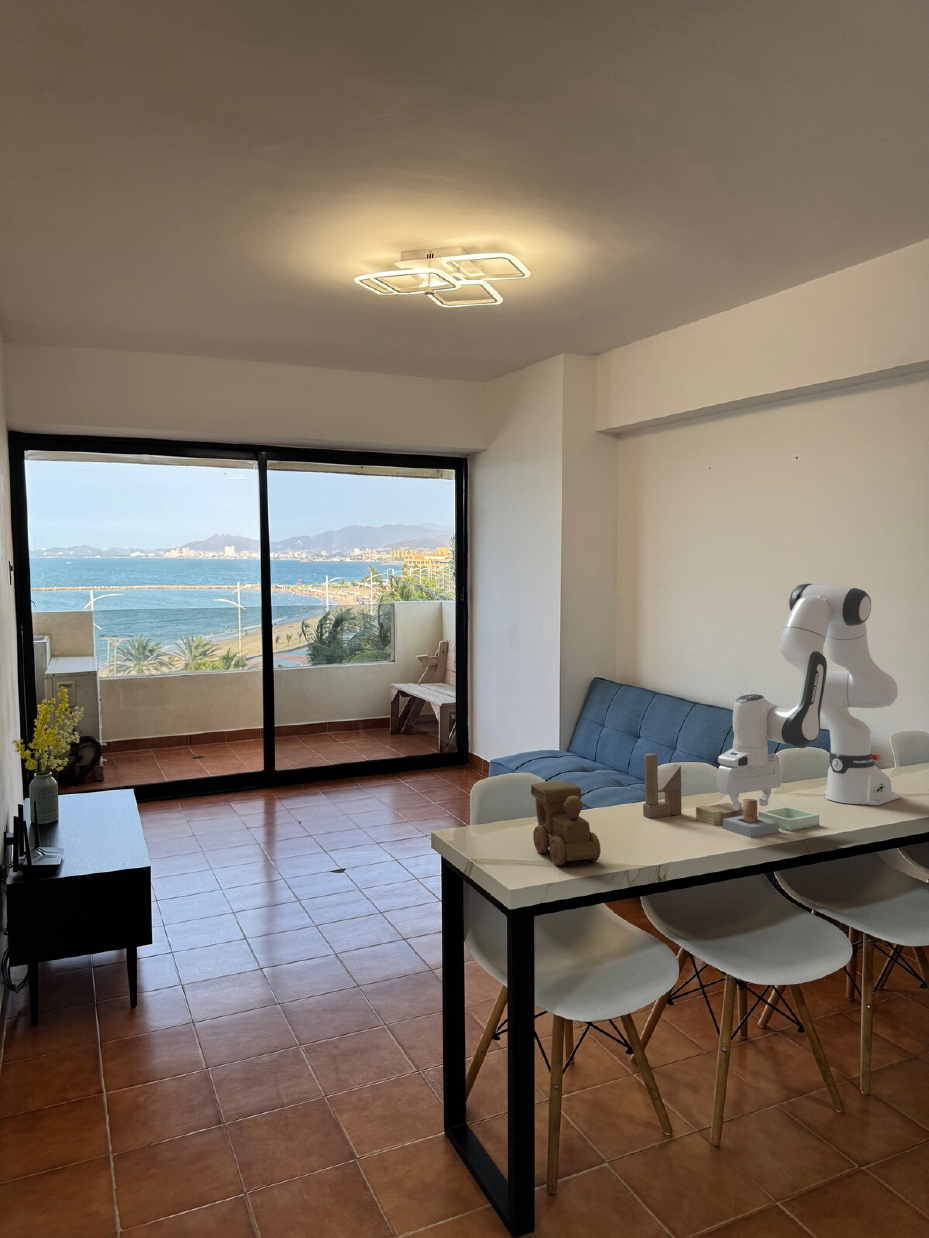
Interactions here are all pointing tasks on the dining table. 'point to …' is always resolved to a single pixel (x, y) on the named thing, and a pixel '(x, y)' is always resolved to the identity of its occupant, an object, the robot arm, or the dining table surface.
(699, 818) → the olive green block
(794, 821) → the tray
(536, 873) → the dining table surface
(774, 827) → the socket block
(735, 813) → the brown flat block
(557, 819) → the wooden toy train
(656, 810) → the wooden block
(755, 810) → the dowel
